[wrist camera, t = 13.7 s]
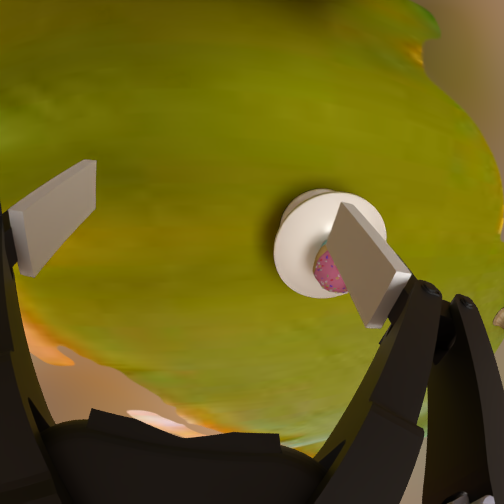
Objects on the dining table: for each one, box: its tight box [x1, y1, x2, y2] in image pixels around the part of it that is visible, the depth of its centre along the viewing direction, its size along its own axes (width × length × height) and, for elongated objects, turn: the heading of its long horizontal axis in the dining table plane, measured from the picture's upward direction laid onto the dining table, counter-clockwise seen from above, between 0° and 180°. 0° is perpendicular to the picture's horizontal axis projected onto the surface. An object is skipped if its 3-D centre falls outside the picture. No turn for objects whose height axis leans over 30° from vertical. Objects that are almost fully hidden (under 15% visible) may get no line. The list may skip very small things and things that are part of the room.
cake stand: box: [273, 188, 386, 298], centre depth 47 cm, size 18×18×8 cm
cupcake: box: [312, 239, 349, 294], centre depth 39 cm, size 9×8×12 cm
